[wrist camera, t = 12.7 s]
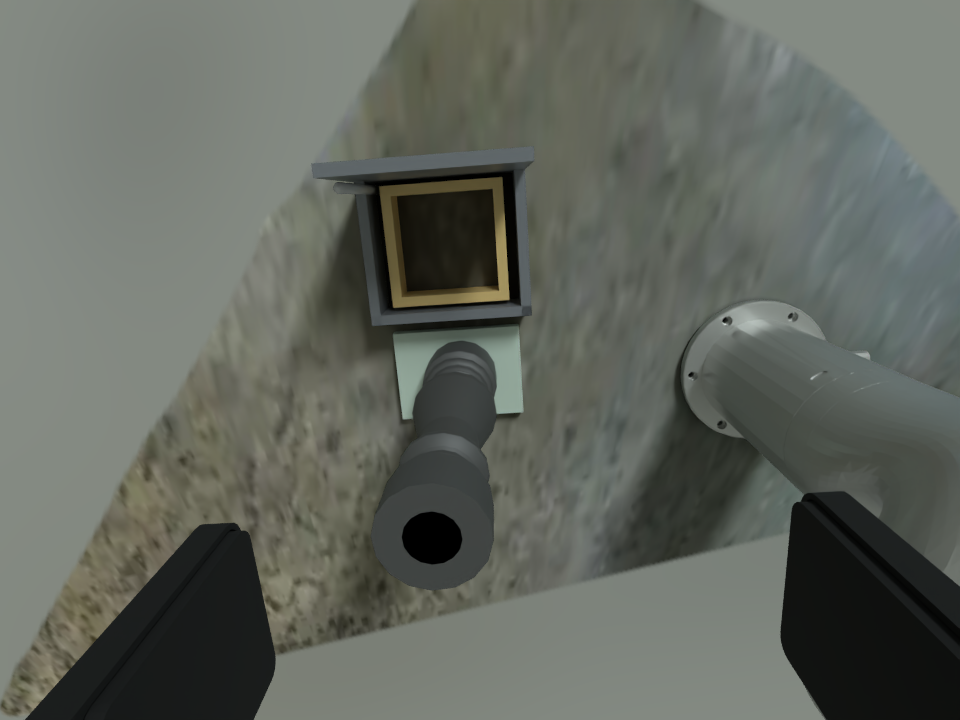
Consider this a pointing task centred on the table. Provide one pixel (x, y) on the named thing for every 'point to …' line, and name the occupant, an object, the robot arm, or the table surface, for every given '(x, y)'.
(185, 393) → the table surface
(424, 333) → the sage pad
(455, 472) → the candle holder
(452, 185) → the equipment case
